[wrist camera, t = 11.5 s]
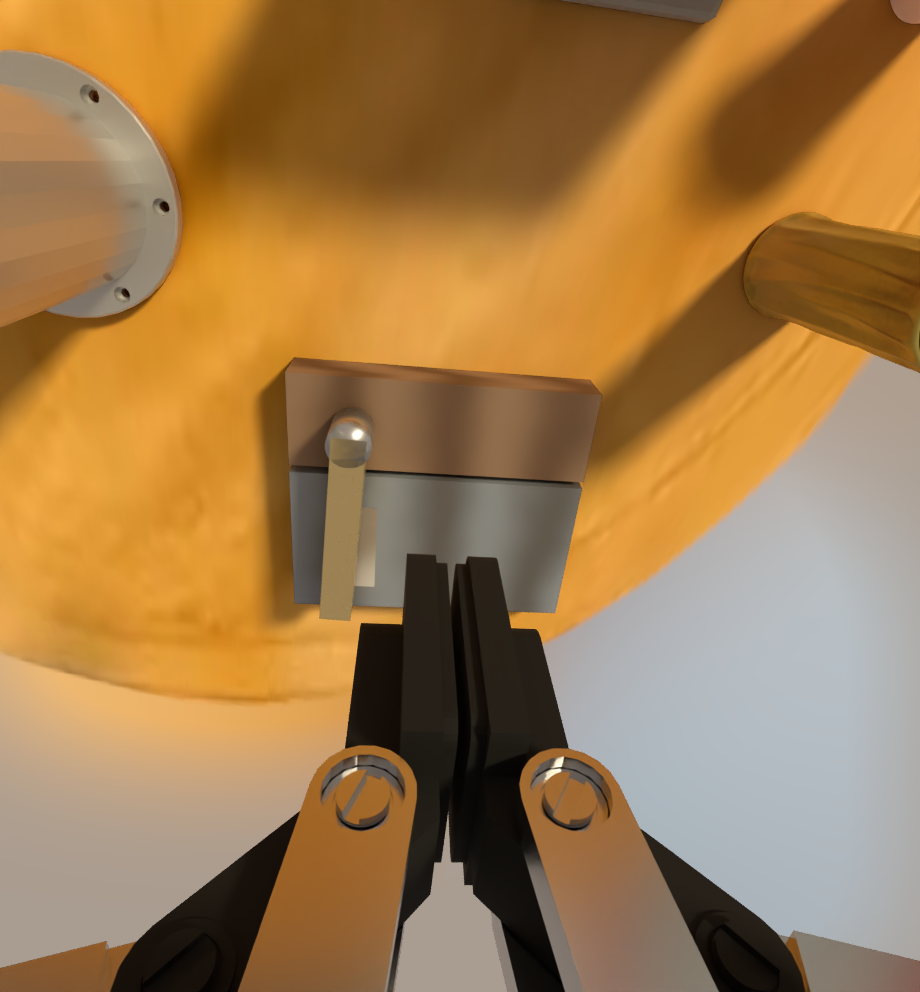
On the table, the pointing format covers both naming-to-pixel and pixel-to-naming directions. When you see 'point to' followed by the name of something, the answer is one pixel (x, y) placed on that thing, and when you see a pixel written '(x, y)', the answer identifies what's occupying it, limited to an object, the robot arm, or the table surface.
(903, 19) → the smoothie
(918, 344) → the vase
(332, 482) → the latch bar
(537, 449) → the door mockup
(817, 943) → the robot arm
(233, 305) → the table surface
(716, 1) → the toy computer monitor
